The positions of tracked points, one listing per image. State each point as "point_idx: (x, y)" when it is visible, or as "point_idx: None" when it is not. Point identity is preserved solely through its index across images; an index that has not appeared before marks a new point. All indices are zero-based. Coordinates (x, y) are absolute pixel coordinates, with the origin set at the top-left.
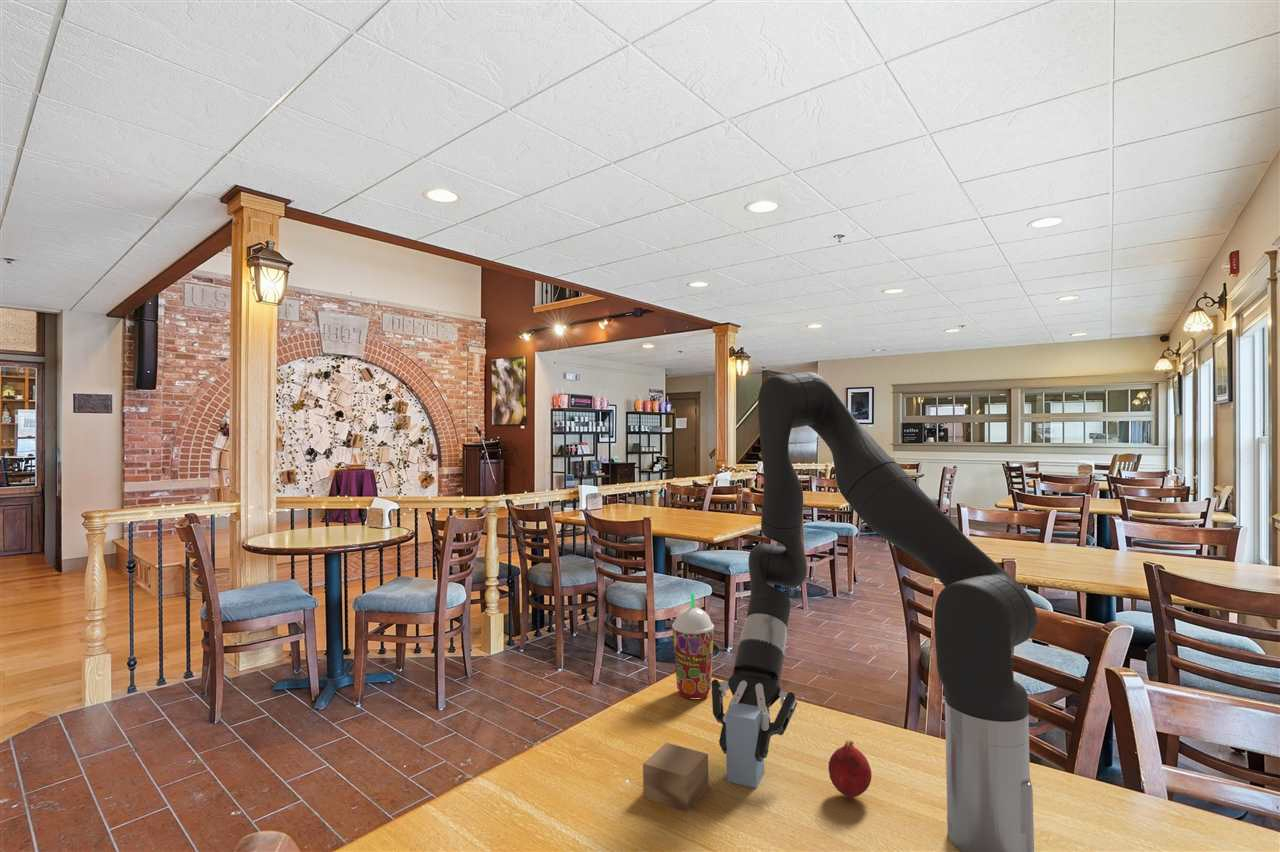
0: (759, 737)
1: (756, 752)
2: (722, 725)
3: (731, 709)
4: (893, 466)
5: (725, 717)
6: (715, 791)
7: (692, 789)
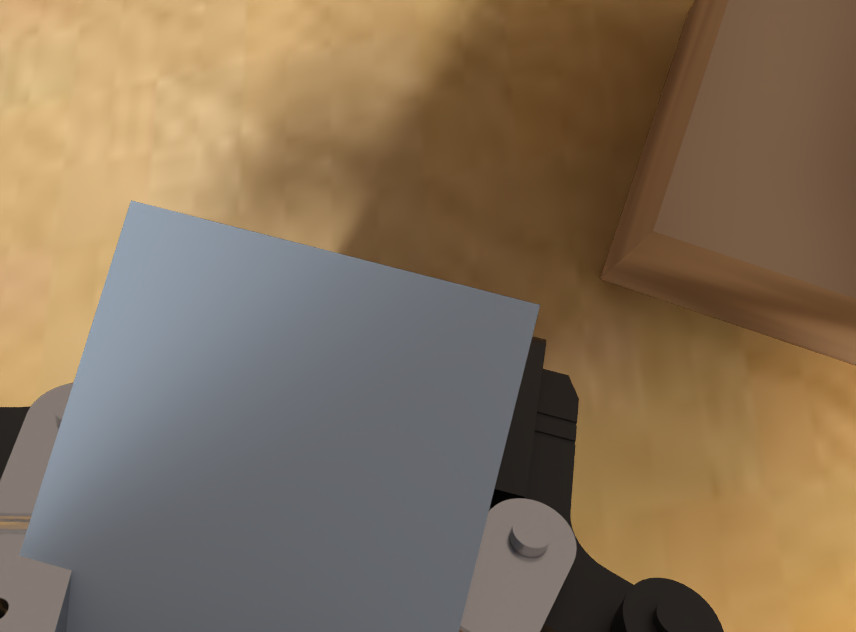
0: None
1: None
2: (569, 516)
3: (465, 466)
4: None
5: (545, 544)
6: (551, 238)
7: (696, 27)
